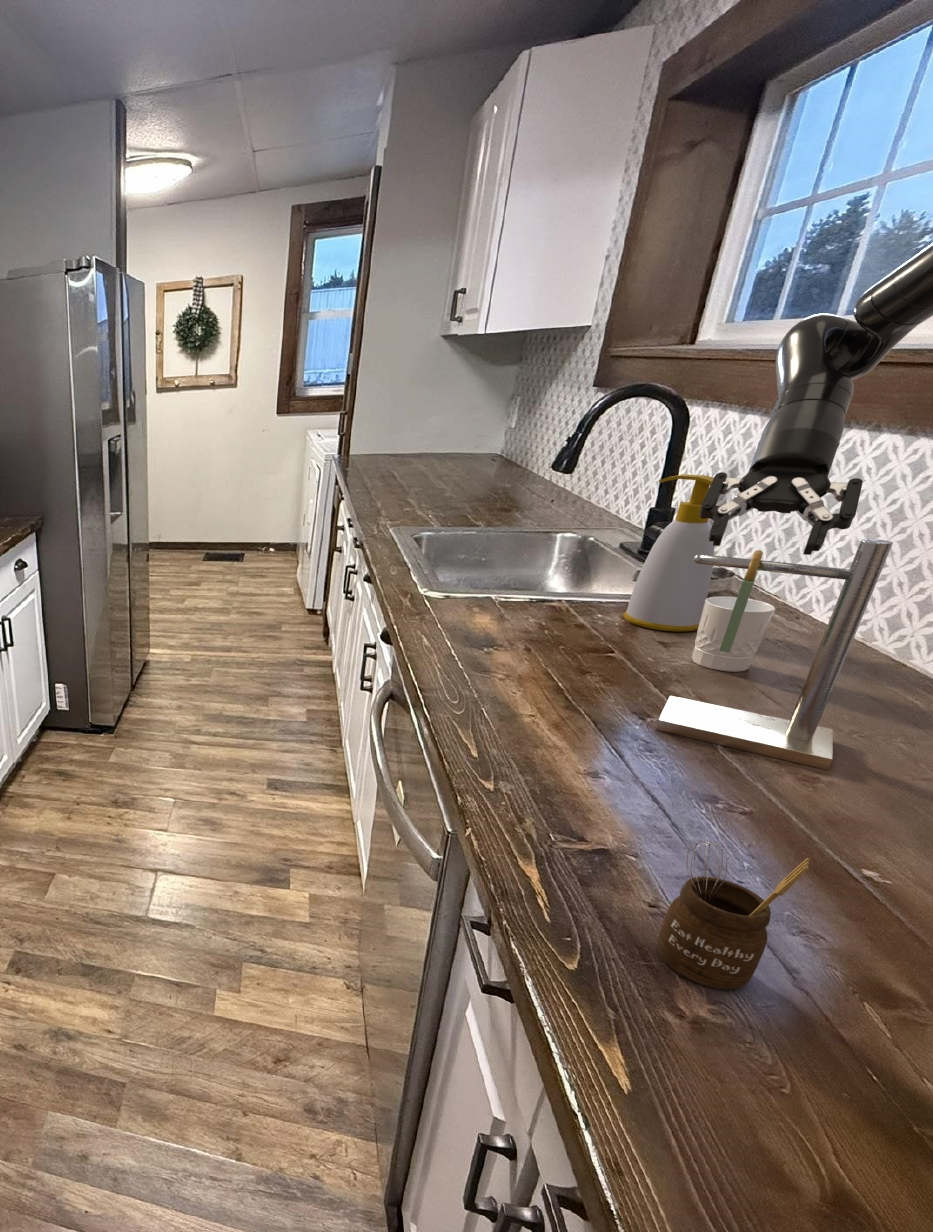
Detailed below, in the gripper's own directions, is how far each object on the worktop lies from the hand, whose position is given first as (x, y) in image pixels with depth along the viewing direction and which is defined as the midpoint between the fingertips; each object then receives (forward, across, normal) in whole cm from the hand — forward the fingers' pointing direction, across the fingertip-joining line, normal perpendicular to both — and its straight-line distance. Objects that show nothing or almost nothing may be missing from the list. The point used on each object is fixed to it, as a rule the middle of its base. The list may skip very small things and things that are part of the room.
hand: (761, 546), depth 92 cm
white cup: (+2, 0, +30) cm, 30 cm away
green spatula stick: (+14, 0, +2) cm, 14 cm away
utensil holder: (+59, +5, -26) cm, 65 cm away
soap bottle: (-10, -10, +43) cm, 45 cm away
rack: (+22, +3, +10) cm, 24 cm away
